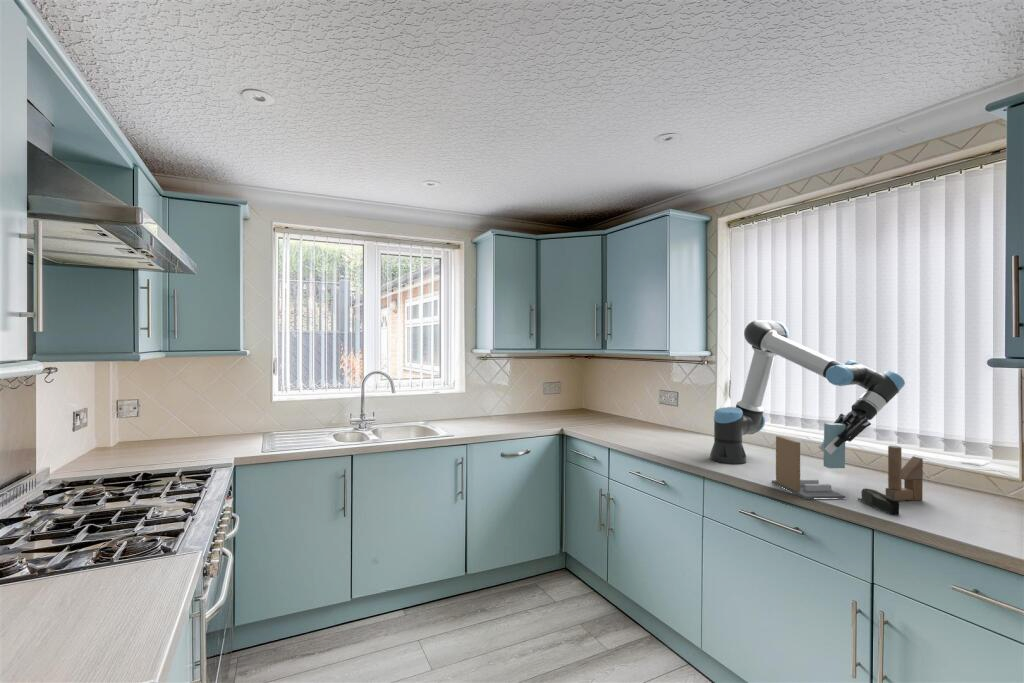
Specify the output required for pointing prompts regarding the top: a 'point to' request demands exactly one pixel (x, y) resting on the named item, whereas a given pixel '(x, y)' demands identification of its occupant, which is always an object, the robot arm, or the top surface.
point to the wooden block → (904, 476)
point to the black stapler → (880, 501)
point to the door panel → (839, 454)
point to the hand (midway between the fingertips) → (824, 450)
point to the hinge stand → (797, 473)
